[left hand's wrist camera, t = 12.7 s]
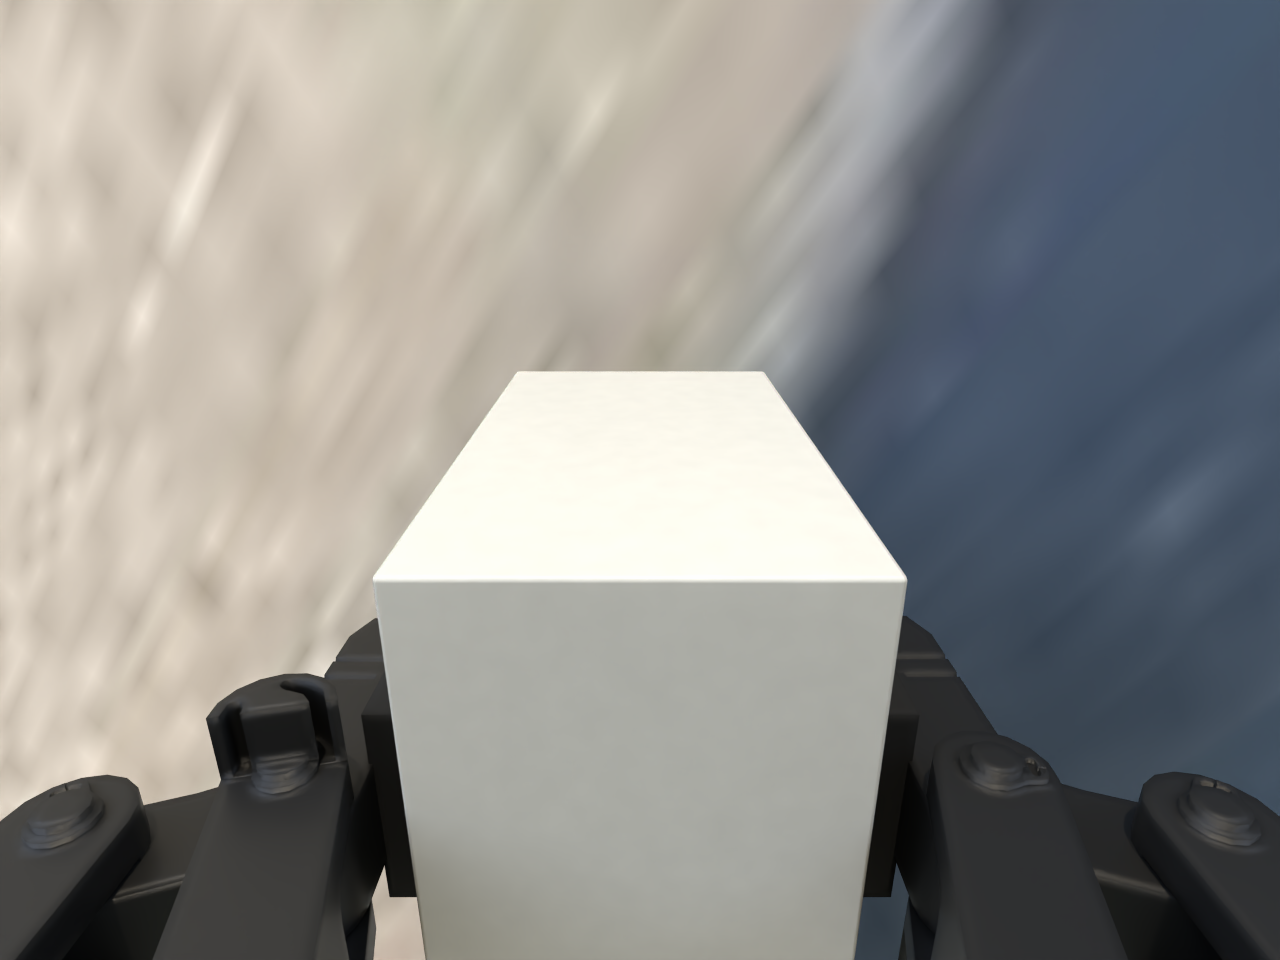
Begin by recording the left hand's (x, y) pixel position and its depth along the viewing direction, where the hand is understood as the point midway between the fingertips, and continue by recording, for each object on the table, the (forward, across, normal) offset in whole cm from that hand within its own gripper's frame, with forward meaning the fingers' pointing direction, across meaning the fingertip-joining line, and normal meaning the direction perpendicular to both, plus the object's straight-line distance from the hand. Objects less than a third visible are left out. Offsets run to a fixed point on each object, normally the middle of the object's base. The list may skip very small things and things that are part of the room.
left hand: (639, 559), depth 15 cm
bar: (+1, 0, -14) cm, 14 cm away
